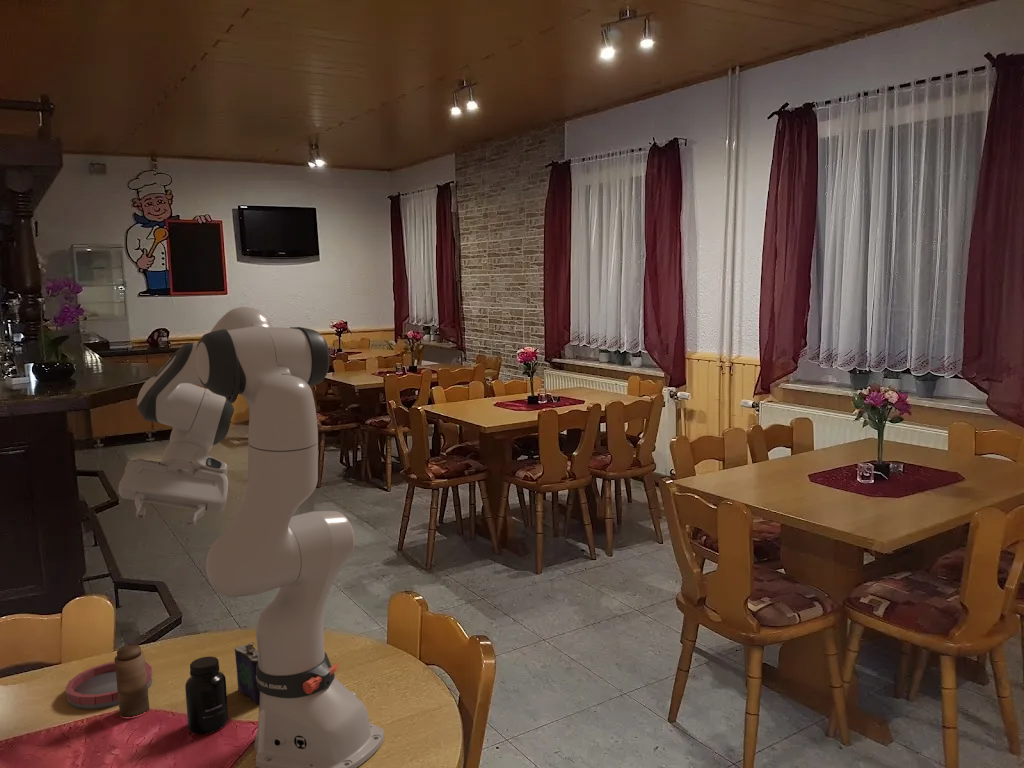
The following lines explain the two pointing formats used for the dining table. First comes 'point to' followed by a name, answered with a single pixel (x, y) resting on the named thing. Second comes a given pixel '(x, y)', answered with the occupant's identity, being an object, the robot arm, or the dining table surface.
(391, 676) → the dining table surface
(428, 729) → the dining table surface
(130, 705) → the pepper mill
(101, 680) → the round tray
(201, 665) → the supplement bottle
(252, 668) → the flask
